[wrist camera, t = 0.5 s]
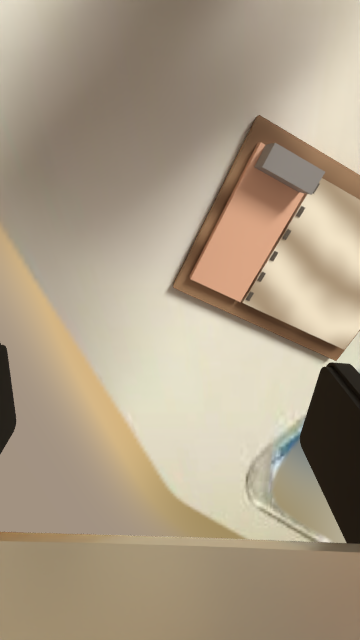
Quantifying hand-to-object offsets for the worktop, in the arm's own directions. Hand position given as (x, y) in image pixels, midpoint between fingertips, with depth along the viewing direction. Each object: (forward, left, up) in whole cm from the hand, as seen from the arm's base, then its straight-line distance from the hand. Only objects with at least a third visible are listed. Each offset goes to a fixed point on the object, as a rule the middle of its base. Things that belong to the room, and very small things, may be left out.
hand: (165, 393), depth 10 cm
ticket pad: (-4, +14, -28) cm, 31 cm away
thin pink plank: (-4, +7, -26) cm, 28 cm away
